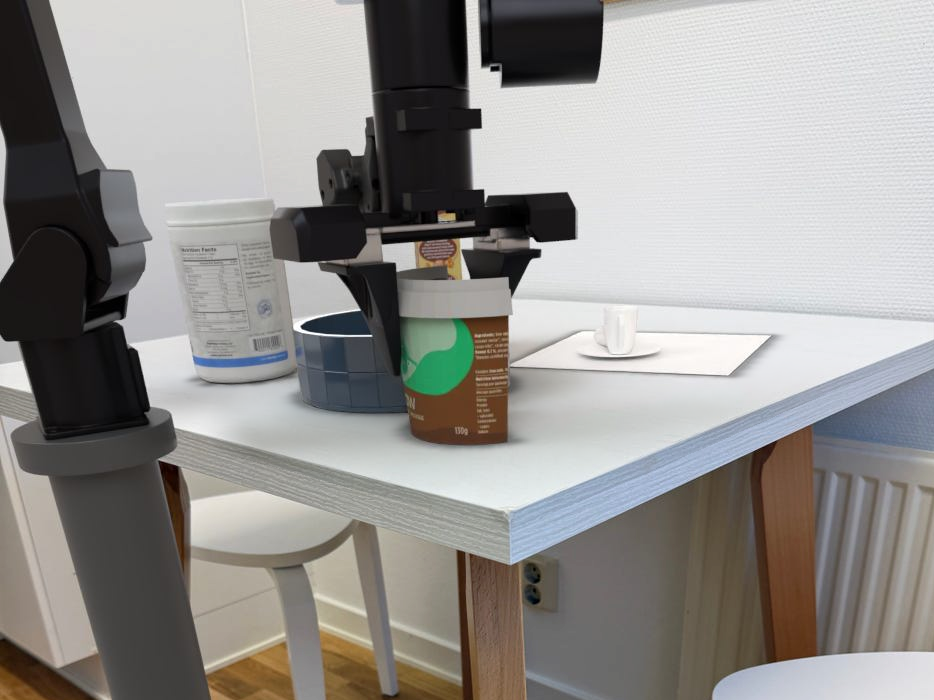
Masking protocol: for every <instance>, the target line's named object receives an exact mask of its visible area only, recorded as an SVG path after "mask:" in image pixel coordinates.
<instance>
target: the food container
mask: <svg viewBox="0 0 934 700" xmlns="http://www.w3.org/2000/svg"><path fill="white" fill-rule="evenodd" d="M397 286H398V303H399V319H400V335H401V350H402V357H401V370H402V376H403V383H404V389H405V396H406V402H407V409H408V412H407V414H408V415H407V416H408V421H409V427H410V434H411V435H412V436H413V437H415V438H417V439H419V440H421V441H424V442H429V443H435V444H441V445H443V444H444V445H457V446H468V445H469V446H474V445H475V446H477V445H493V444H501V443H508V436H509V435H508V434H509V433H508V431H509V430H508V429H509V428H508V427H509V426H508V425H509V424H508V423H509V419H508V418H509V387H508V330H509V331H510V327H509V326H510V324H509V322H510V321H509V320H510V319H509V318H510V317H509V316H513V314H514V311H513V302H512V298H511V290H510V289H509V279H508V277H503V278H488V279H470V278H469V279H462V280H448V270H447V266H434V267H424V268H416V267H415V268H411V269H404V270H399V271H397Z"/></svg>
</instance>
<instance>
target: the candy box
mask: <svg viewBox="0 0 934 700" xmlns="http://www.w3.org/2000/svg"><path fill="white" fill-rule="evenodd" d="M438 218H439V221H443V220H455V213H452V214H445V210H444V211H438ZM413 251H414V261H415V262H414V263H415V264H414V265H415V269H416V268H424V267H434V266H447V270H448V280H463V268H462V252H461V239H448V240H436V241H423V242H413Z"/></svg>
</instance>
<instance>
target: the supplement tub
mask: <svg viewBox="0 0 934 700" xmlns="http://www.w3.org/2000/svg"><path fill="white" fill-rule="evenodd" d="M164 211H165V212H164V213H165V216H166V217H165V218H166V222H165V224H166V226H167V235H168V239H169V245H170V250H171V254H172V259H173V265H174V269H175V274H176V279H177V284H178V289H179V295H180V301H181V305H182V310H183V315H184V319H185V325H186V330H187V335H188V340H189V345H190V351H191V356H192V360H193V364H194V369H195V373H196V374H197V376H198V377H200V378H201V379H202V380H204V381H207V382H210V383H218V384H242V383H243V384H244V383H253V382H261V381H267V380H272V379H276V378H277V379H278V378H280V377H284V376H287V375H289V374H291V373H292V372H294V371H295V370H296V369H297V363H296V356H295V349H294V341H293V334H292V326H293V325H294V321H293V313H292V306H291V300H290V292H289V285H288V279H287V272H286V271H287V270H286V264H285V260H280V259H274V258H273V251H272V244H271V237H270V230H269V229H270V221H271V217H272V216H273V214H274V212H275V211H276V205H275V200H274V198H273V197H243V198H241V197H240V198H225V199H224V198H223V199H210V200H193V201H181V202H180V201H179V202H170V203H165V204H164Z"/></svg>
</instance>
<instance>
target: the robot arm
mask: <svg viewBox="0 0 934 700" xmlns="http://www.w3.org/2000/svg"><path fill="white" fill-rule="evenodd" d="M333 1H334V2H335V4H337V5H338V6H347V5H348V6H349V5H363V13H364V23H365V24H364V25H365V34H366V44H367V56H368V57H367V58H368V68H369V69H368V70H369V80H370V82H369V83H370V93H371V105H372V116H367V117H365V128H364V135H365V136H364V138H365V147H364V151H363V152H364V153H363V155H362V154H361V155H353V154H352V153H351V151H350V150H349V149H347V148H333V149H332V148H331V149H321V150H320V152H319V153H318V155H317V157H316V170H317V171H316V172H317V182H318V183H317V184H318V190H319V195H320V199H321V204H315V205H298V206H282V207H281V206H279V207H276V208H275V210H276V211H275V212H274V214H273V216H272V217H271V221H270V229H269V230H270V237H271V244H272V251H273V258H274V259H280V260H284V261H288V262H295V263H303V264H304V263H305V264H306V263H317V265H318V267H319V270H320V271H321V272H325V273H331V274H336V276H337V277H338V278H339V279H340V281H341V282H342V284H344V286H345V287H346V288H347V290H348V291H349V292H350V294H351V296H352V298H353V299H354V301H355V303H356V304H357V306H358V308H359V310H361V312H362V314H363V316H364V318H365V321H366V323H367V325H368V327H369V330H370V332H371V334H372V337H373V339H374V341H375V344H376V346H377V348H378V351H379V353H380V355H381V358H382V360H383V362H384V364H385V367H386V369H387V371H388V373H389V375H391V376H393V377H399V376H400V373H401V357H402V350H401V335H400V319H399V303H398V286H397V272H398V271H397V262H395V261H394V262H393V261H386V260H384V254H383V253H384V252H383V246H385V245H397V244H408V243H409V244H410V243H414V242H423V241H436V240H448V239H460V240H461V239H471V238H472V247H471V248H460V250H461V256H462V257H463V260H464V264H465V266H466V269H467V272H468V275H469V279H488V278H503V277H508V279H509V289H510V290H511V299H512V298H513V296H514V295H515V292H516V290H517V288H518V287H519V284H520V282H521V280H522V278H523V277H524V275H525V272H526V270H527V268H528V266H529V264H530V262H531V261H532V260H535V259H541V258H542V253H543V252H542V248H536V247H535V248H534V247H533V248H532V247H531V239H533V240H534V241H535V242H536V243H539V244H540V243H541V244H542V243H554V242H566V241H567V242H568V241H576V240H578V239H579V211H578V209H577V207H576V204H575V202H574V200H573V198H572V197H571V196H570V194H569V192H568V191H552V192H551V191H549V192H547V191H546V192H521V193H505V194H489V195H487V197H486V195H485V188H479V189H478V188H477V189H475V184H474V161H473V160H474V158H473V156H474V155H473V136H472V132H473V131H476V130H477V131H478V130H482V129H483V117H482V108H481V107H480V108H471V90H470V88H471V87H470V86H471V85H470V69H469V68H470V66H469V65H470V64H469V45H468V44H469V43H468V41H469V40H468V18H467V15H468V14H467V0H333ZM604 9H605V6H604V0H477V17H478V18H477V21H478V46H479V47H478V49H479V65H480V69H481V70H482V69H483V70H485V69H489V72H490V73H498V82H499V83H498V84H499V88H500V89H515V88H517V89H518V88H535V87H537V88H538V87H554V86H575V85H578V86H579V85H594V84H597V82H598V78H599V75H600V70H601V62H602V53H603V40H604V16H605V15H604V13H605V11H604ZM0 130H1V134H2V137H3V140H4V146H5V161H4V163H5V164H4V178H3V179H4V180H3V198H2V205H3V209H4V215H5V222H6V227H7V233H8V238H9V244H10V250H11V256H12V260H13V261H12V263H11V264H10V266H9V267H8V269H7V271H6V272H5V273H4V275H3V277H2V279H1V280H0V337H1V339H2V340H3V341H4V342H7V343H11V342H12V343H14V342H17V345H18V349H19V353H20V356H21V357H20V358H21V360H22V363H23V368H24V371H25V374H26V378H27V381H28V384H29V388H30V391H31V396H32V399H33V402H34V406H35V410H36V414H37V415H36V416H35V420H37V423H38V426H39V428H40V430H41V432H42V435H43V437H44V439H45V440H57V439H63V438H70V437H76V436H82V435H89V434H95V433H101V432H108V431H114V430H121V429H127V428H133V427H140V426H146V425H149V424H150V422H149V417H148V416H147V415H146V414H145V413H146V412H149V410H150V409H151V408H150V407H151V404H150V399H149V395H148V390H147V386H146V385H147V384H146V381H145V377H144V372H143V368H142V362H141V359H140V354H139V350H138V349H136V348H135V347H133V345H131V344H129V343H127V338H126V334H125V329H124V325H122V324H120V323H119V322H117V321H122V320H125V319H126V318H127V312H128V305H129V296H130V291H132V290H133V289H134V288H135V287H136V286H137V285H138V284H139V281H140V280H141V278H142V276H143V274H144V273H145V271H146V264H147V255H146V247H145V243H146V242H147V243H148V242H151V241H152V240H153V238H154V237H153V235H152V234H151V232H150V231H149V230H148V227H147V226H146V225H145V223H144V219H143V217H142V215H141V212H140V207H139V200H138V191H137V183H136V181H135V176H134V173H133V171H132V170H130V169H121V168H119V169H118V168H116V169H115V168H107V166H106V164H105V162H104V161H103V160H102V158H101V156H100V155H99V153H98V151H97V149H96V148H95V147H94V145H93V143H92V141H91V139H90V137H89V133H88V132H87V129H86V125H85V122H84V118H83V114H82V111H81V108H80V104H79V101H78V97H77V94H76V89H75V86H74V82H73V80H72V76H71V72H70V69H69V65H68V61H67V58H66V55H65V51H64V48H63V44H62V40H61V37H60V34H59V30H58V27H57V23H56V19H55V16H54V13H53V9H52V6H51V1H50V0H0ZM485 197H486V198H485ZM444 210H445V214H452V213H455V220H443V221H439V218H438V211H444Z"/></svg>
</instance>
